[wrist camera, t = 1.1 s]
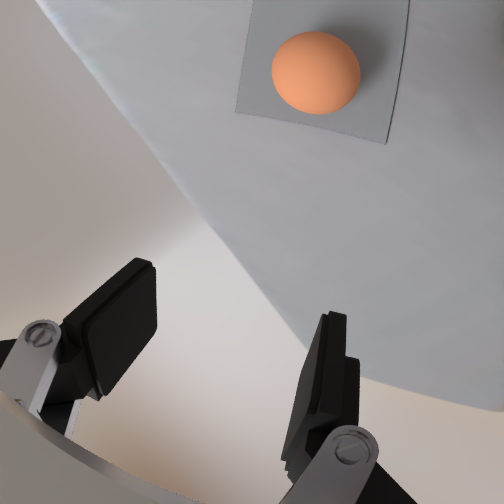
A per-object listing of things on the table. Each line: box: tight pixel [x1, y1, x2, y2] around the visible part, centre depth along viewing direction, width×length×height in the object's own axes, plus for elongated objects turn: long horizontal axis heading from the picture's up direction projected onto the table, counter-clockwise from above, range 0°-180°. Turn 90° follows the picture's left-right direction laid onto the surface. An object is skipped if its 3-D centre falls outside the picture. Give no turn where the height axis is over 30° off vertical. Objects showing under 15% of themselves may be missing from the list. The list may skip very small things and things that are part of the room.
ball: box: [272, 31, 361, 115], centre depth 19 cm, size 6×6×6 cm
